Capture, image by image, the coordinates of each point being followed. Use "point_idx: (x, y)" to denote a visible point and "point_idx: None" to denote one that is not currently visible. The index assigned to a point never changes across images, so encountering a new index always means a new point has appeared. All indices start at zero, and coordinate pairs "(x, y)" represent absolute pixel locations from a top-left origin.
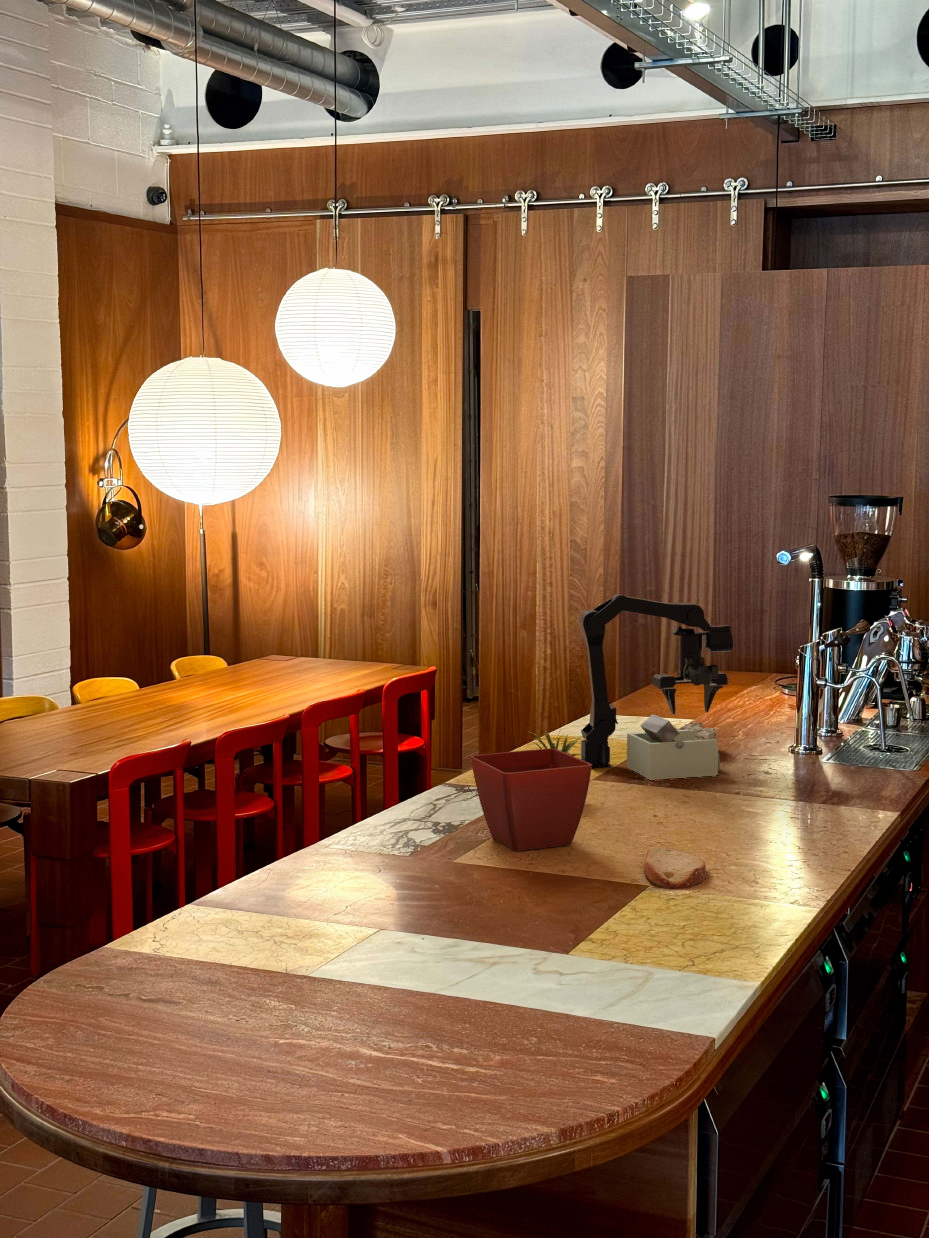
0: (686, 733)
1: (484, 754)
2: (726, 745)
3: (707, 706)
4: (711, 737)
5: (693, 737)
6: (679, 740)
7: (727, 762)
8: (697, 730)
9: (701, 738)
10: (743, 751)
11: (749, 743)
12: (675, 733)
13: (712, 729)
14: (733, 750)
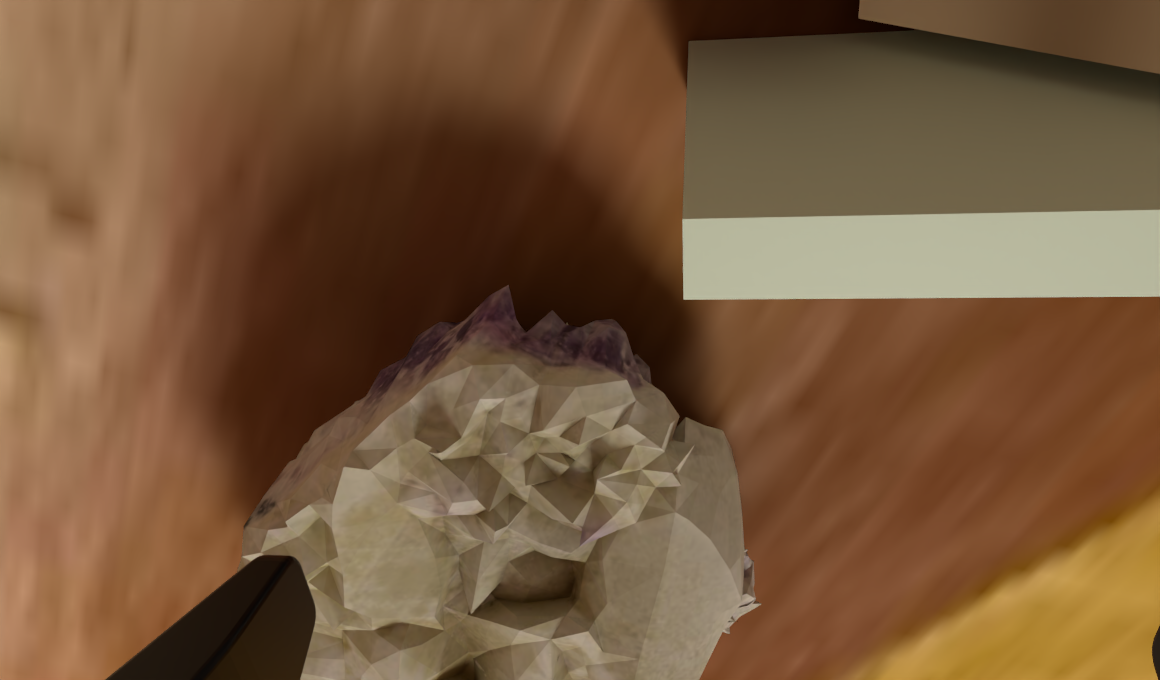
0: (866, 190)
1: None
2: None
3: (217, 658)
4: (323, 457)
5: (712, 166)
6: (982, 141)
7: (285, 86)
8: (417, 651)
9: (458, 428)
10: (77, 451)
11: (18, 631)
12: None
13: None
14: (153, 498)
